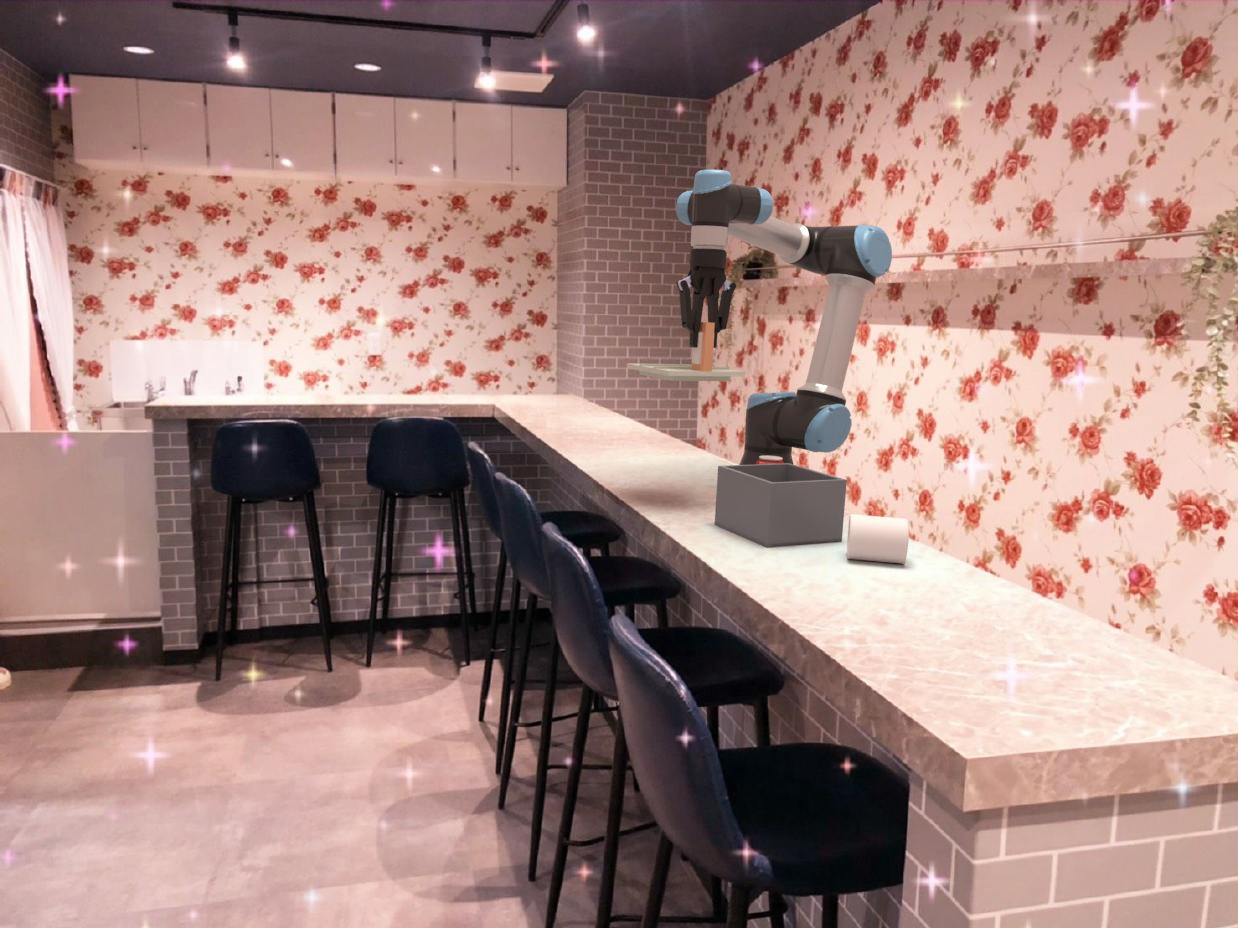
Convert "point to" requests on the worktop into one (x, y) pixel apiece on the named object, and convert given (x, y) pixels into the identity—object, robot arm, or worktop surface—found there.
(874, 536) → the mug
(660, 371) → the lid
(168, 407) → the worktop surface
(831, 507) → the tub
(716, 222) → the robot arm
